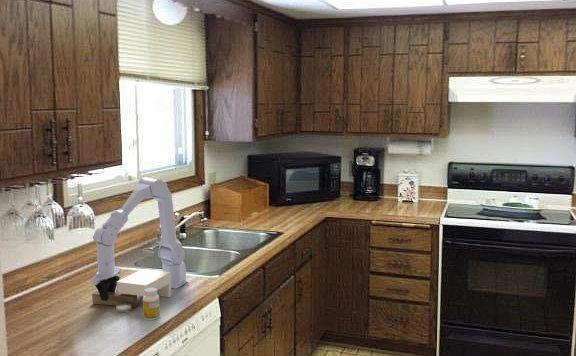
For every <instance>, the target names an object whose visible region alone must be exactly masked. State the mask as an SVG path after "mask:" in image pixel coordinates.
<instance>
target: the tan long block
mask: <svg viewBox="0 0 576 356" xmlns="http://www.w3.org/2000/svg"><path fill="white" fill-rule="evenodd" d="M91 297H92V300H91V301H92V305H93V304H94V305H104V306H106V305H107V306H115V307H116V304H118V303H121V302H130V303H131V308H134V307H136V306H137V305H138V303H139V302H138V301H139V299H138V295H131V294H123V293H116V292H115V293H114V292H108V299H107V301H103V300H101V297H100V294H99V292H98V290H97V291H94V292H93V293H91Z"/></svg>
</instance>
